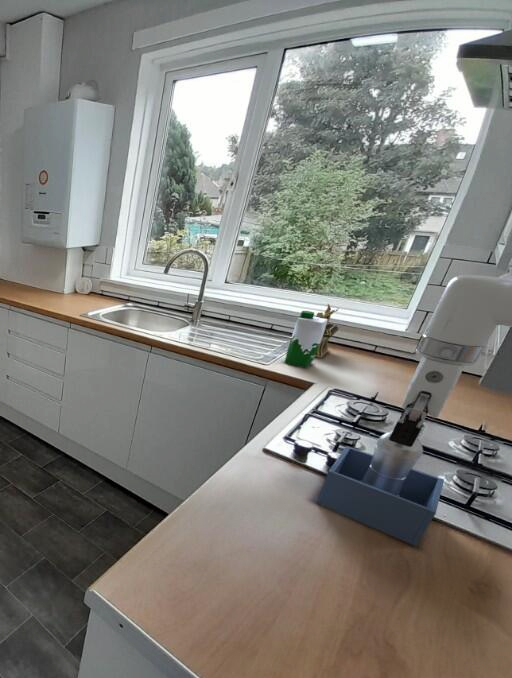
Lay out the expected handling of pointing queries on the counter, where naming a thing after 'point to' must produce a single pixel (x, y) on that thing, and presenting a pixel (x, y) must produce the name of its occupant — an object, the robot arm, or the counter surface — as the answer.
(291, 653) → the counter surface
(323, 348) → the brown figurine
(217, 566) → the counter surface
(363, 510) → the tote
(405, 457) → the plastic bottle
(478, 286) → the robot arm
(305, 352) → the milk carton
